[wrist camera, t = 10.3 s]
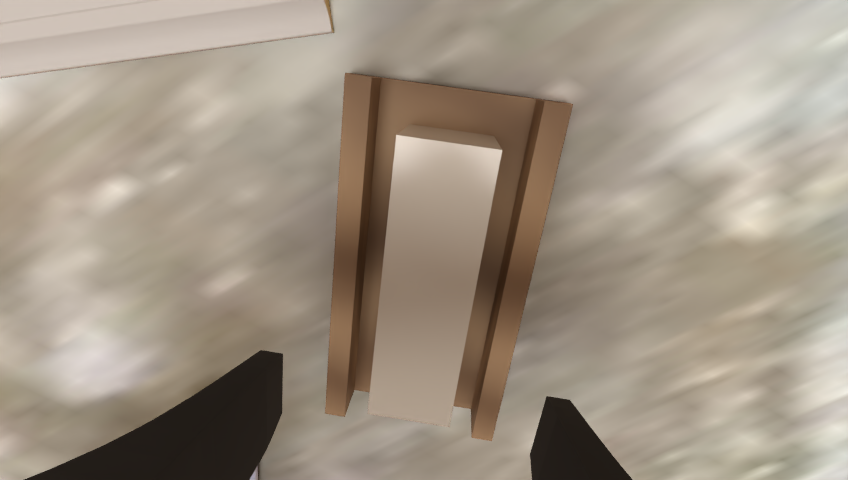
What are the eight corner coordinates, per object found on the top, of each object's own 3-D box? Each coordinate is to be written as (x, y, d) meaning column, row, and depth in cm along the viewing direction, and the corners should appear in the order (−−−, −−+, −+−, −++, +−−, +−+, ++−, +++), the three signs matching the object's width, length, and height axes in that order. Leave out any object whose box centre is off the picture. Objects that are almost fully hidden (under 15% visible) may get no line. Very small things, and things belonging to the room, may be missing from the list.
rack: (497, 400, 24) (501, 442, 21) (332, 373, 24) (315, 411, 22) (567, 102, 18) (586, 106, 16) (351, 73, 19) (331, 71, 16)
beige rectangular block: (451, 369, 22) (449, 427, 19) (383, 358, 22) (367, 413, 19) (494, 135, 18) (502, 150, 14) (409, 123, 18) (396, 135, 14)
